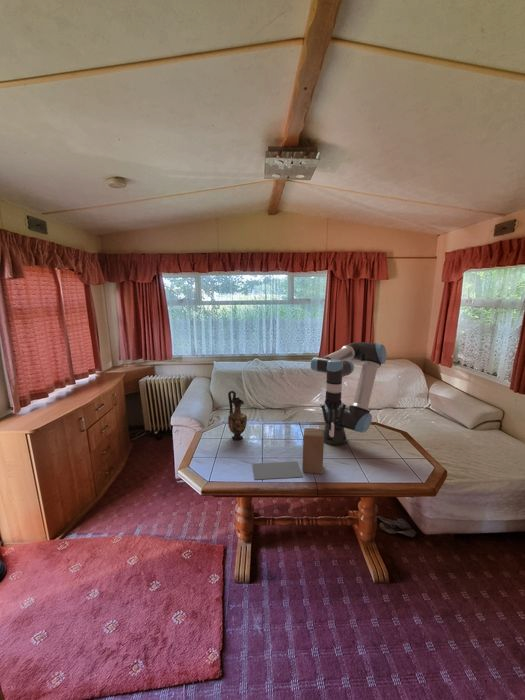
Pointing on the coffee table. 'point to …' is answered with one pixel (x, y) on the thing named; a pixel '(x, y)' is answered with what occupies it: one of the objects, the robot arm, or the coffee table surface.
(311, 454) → the block
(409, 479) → the coffee table surface
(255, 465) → the mat
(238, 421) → the vase
